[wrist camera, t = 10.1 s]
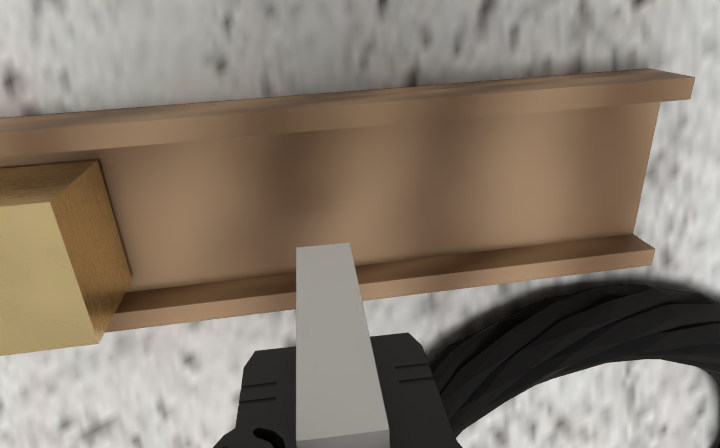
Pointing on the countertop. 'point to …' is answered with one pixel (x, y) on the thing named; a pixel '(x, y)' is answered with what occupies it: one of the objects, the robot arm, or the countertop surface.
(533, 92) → the rail
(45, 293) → the block
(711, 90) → the countertop surface
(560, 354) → the cable lock
